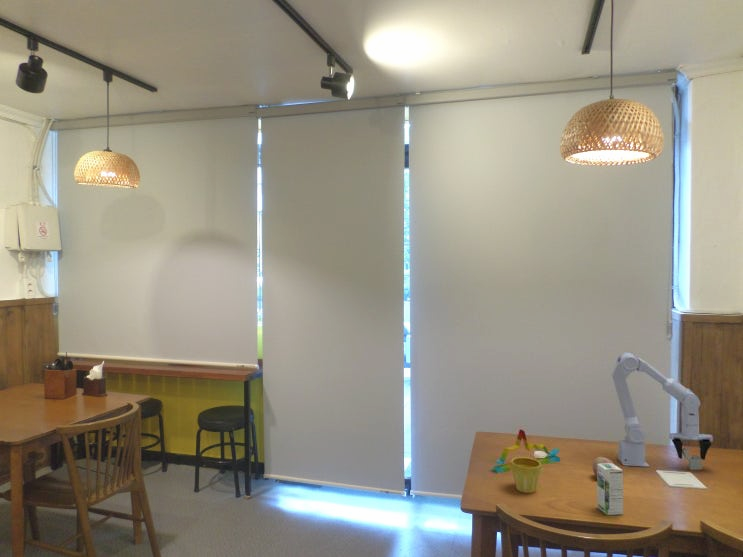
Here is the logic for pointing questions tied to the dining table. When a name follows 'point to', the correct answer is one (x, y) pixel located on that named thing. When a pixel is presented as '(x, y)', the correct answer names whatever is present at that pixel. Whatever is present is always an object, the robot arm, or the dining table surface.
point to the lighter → (693, 460)
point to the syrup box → (610, 489)
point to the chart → (521, 435)
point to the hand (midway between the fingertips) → (691, 458)
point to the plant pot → (525, 473)
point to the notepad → (680, 479)
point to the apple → (599, 461)
